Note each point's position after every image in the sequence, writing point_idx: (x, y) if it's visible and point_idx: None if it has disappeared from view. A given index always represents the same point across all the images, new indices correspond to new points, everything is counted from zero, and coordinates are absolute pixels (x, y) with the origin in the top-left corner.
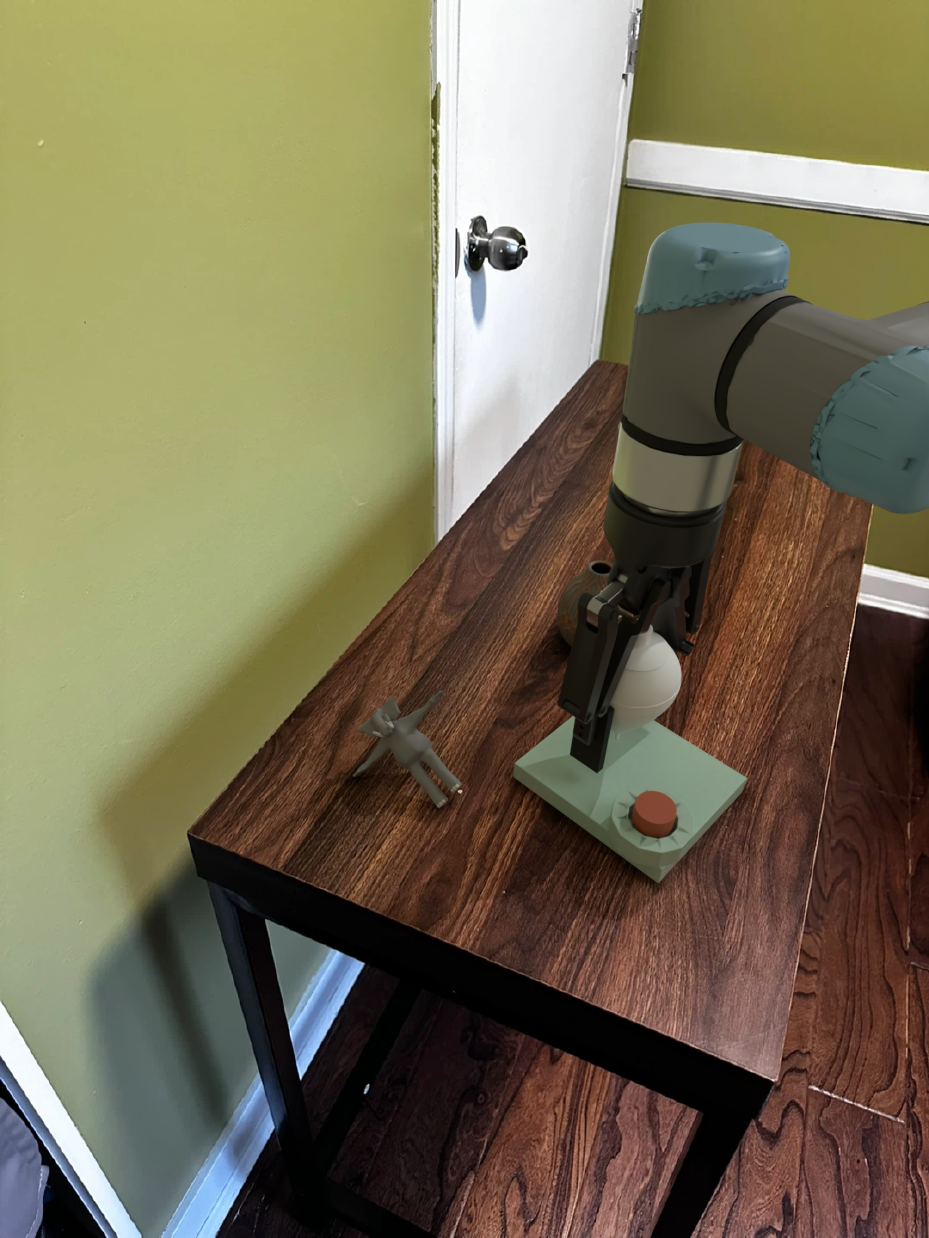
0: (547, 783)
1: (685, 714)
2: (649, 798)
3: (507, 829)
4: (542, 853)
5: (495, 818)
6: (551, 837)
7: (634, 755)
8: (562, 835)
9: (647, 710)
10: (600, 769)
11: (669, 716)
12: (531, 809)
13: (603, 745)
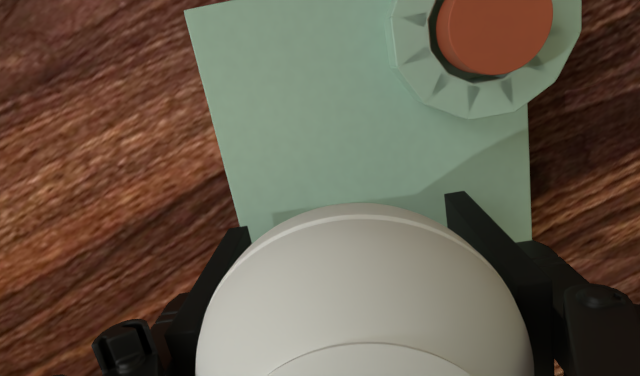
0: (525, 230)
1: (158, 215)
2: (491, 50)
3: (609, 201)
4: (606, 130)
5: (606, 229)
6: (567, 146)
7: (340, 189)
8: (549, 139)
9: (435, 224)
10: (455, 193)
11: (188, 227)
12: (546, 210)
13: (491, 222)
